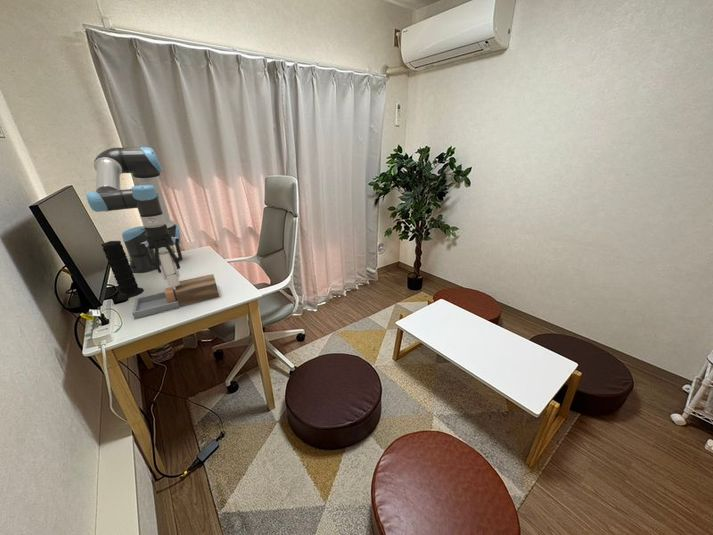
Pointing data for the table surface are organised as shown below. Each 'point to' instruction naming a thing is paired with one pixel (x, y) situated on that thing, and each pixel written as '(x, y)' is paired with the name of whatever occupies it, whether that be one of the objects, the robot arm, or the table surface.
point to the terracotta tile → (170, 294)
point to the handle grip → (121, 269)
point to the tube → (169, 269)
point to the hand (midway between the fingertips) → (171, 277)
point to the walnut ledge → (196, 290)
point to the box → (152, 305)
